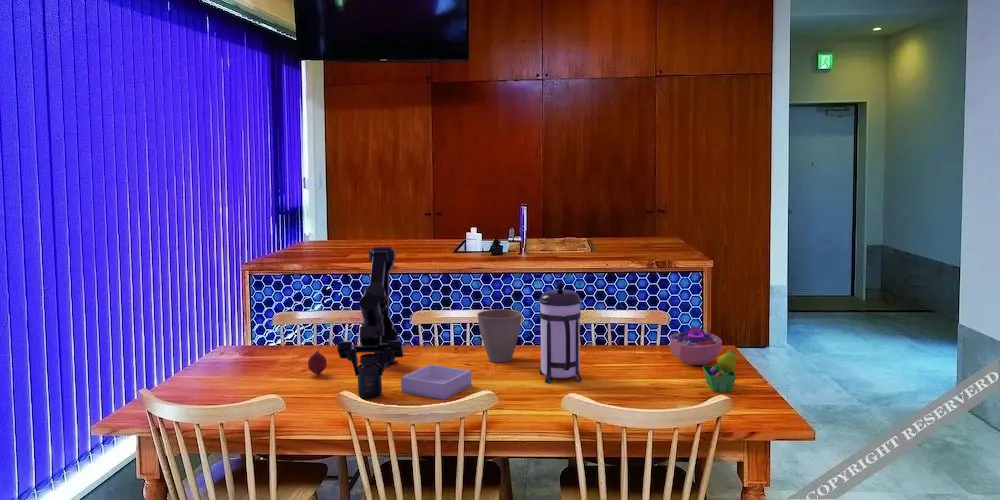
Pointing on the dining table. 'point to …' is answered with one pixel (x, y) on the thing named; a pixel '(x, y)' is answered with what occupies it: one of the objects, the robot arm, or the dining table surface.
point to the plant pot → (499, 333)
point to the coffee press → (560, 334)
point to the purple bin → (436, 381)
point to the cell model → (695, 346)
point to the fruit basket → (722, 373)
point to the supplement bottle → (369, 377)
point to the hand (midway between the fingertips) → (368, 375)
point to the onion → (317, 363)
